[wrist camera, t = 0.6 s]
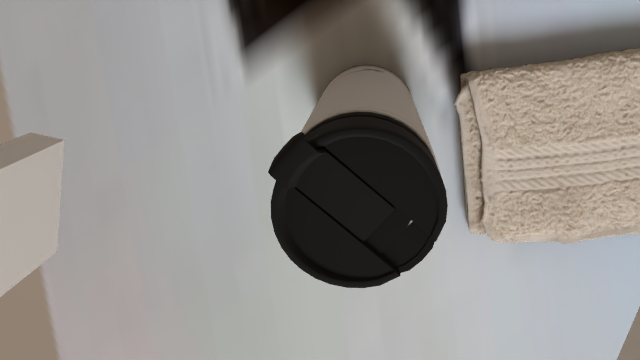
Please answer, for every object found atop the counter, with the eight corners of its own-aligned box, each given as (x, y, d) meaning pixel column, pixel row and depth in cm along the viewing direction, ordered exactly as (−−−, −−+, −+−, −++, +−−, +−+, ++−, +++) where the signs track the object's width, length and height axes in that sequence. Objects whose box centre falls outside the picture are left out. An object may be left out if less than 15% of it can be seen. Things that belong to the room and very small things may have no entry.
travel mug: (358, 40, 37) (342, 80, 18) (433, 108, 38) (492, 213, 19) (296, 112, 39) (223, 217, 20) (369, 175, 40) (365, 333, 21)
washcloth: (446, 71, 38) (452, 77, 35) (741, 23, 35) (775, 25, 33) (465, 238, 41) (472, 256, 38) (737, 205, 39) (767, 221, 36)
